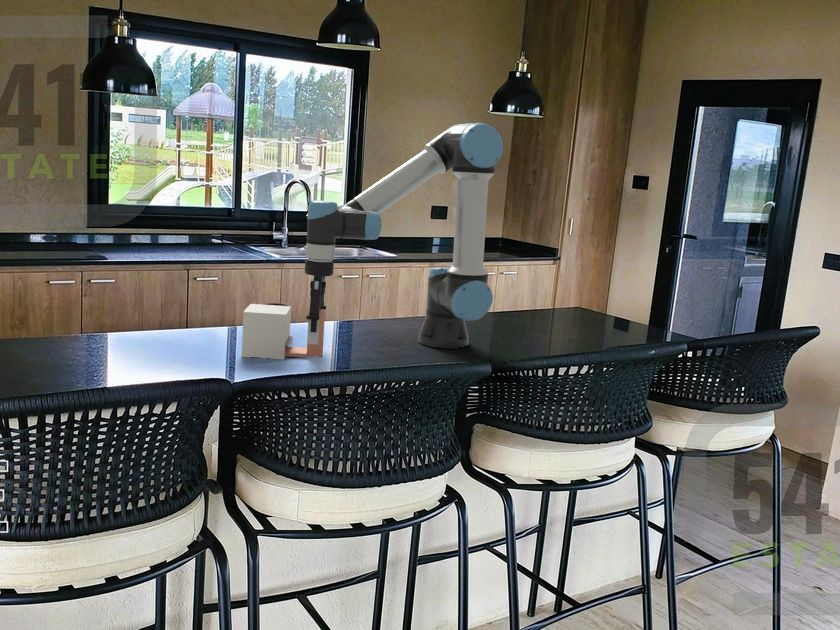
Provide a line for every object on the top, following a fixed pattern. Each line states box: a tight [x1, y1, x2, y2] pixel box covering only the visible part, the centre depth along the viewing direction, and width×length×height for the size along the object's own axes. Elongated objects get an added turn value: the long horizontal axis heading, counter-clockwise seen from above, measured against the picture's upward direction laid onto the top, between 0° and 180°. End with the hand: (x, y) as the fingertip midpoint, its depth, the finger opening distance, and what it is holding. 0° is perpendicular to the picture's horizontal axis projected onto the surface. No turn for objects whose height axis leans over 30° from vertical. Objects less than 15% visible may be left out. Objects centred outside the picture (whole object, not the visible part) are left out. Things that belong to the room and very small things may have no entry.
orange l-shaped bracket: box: [285, 309, 326, 358], centre depth 225 cm, size 18×7×12 cm, turn 92°
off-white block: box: [241, 303, 294, 361], centre depth 225 cm, size 12×12×12 cm
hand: (314, 338), depth 226 cm, fingers open, 13 cm apart
